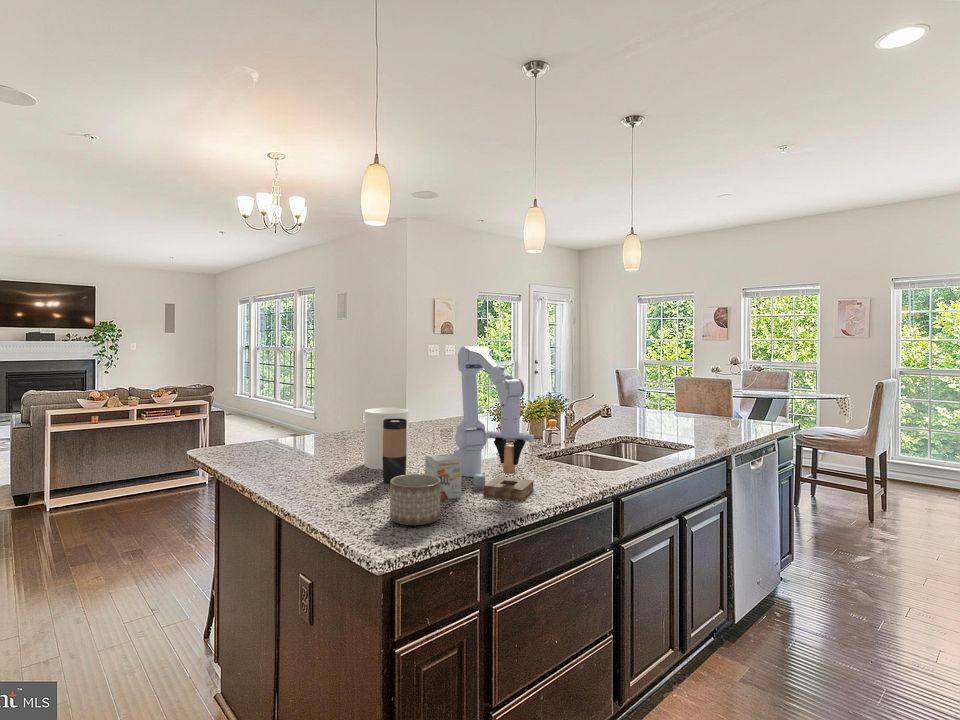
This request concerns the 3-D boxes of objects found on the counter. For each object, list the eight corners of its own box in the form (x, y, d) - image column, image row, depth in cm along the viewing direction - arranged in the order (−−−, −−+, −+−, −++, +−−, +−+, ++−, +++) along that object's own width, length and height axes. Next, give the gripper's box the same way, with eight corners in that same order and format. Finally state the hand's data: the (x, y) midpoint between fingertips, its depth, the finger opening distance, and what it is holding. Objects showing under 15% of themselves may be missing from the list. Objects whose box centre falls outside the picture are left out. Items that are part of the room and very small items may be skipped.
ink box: (434, 501, 153) (435, 460, 153) (423, 493, 161) (424, 454, 160) (462, 497, 157) (462, 457, 157) (450, 490, 165) (450, 452, 164)
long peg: (501, 473, 162) (502, 446, 161) (505, 470, 165) (505, 444, 165) (513, 474, 161) (513, 447, 160) (516, 471, 164) (517, 445, 164)
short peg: (471, 489, 167) (472, 476, 166) (476, 486, 170) (476, 473, 170) (482, 490, 165) (482, 477, 165) (486, 487, 169) (487, 474, 168)
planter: (388, 514, 141) (388, 475, 141) (436, 511, 144) (436, 473, 144) (391, 530, 129) (392, 487, 128) (443, 527, 132) (444, 485, 131)
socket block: (483, 495, 160) (483, 485, 159) (496, 485, 171) (496, 476, 171) (522, 500, 155) (522, 489, 155) (533, 489, 166) (533, 480, 166)
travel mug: (410, 480, 176) (411, 419, 175) (397, 485, 169) (398, 422, 168) (391, 477, 179) (391, 417, 178) (377, 482, 172) (378, 420, 171)
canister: (414, 461, 204) (414, 408, 203) (398, 471, 188) (399, 414, 188) (375, 458, 207) (375, 407, 207) (356, 467, 192) (356, 412, 191)
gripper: (483, 419, 161) (482, 463, 162) (529, 422, 156) (528, 468, 156) (491, 416, 168) (490, 459, 168) (536, 419, 163) (535, 463, 163)
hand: (509, 463), depth 163 cm, fingers closed on long peg, 4 cm apart
